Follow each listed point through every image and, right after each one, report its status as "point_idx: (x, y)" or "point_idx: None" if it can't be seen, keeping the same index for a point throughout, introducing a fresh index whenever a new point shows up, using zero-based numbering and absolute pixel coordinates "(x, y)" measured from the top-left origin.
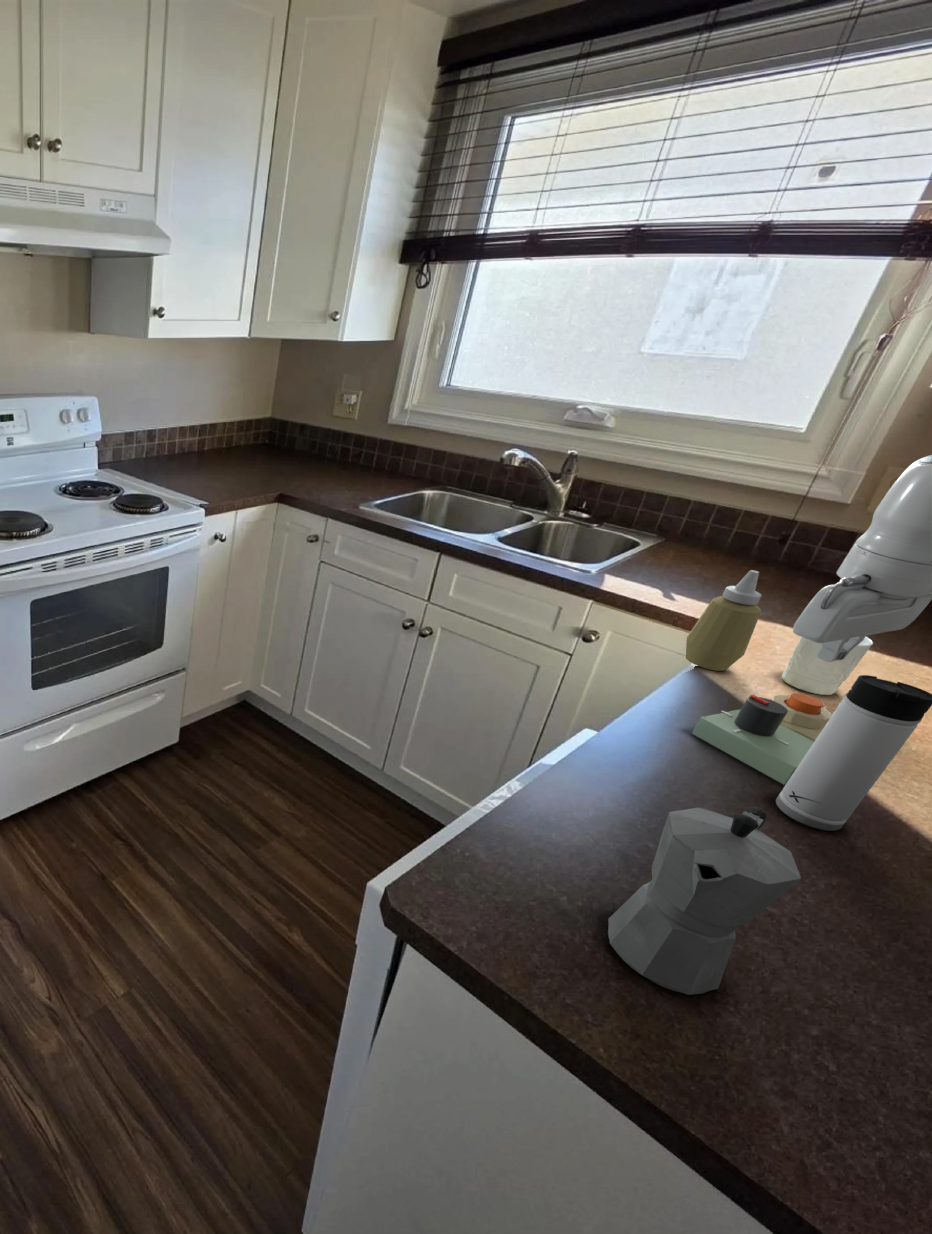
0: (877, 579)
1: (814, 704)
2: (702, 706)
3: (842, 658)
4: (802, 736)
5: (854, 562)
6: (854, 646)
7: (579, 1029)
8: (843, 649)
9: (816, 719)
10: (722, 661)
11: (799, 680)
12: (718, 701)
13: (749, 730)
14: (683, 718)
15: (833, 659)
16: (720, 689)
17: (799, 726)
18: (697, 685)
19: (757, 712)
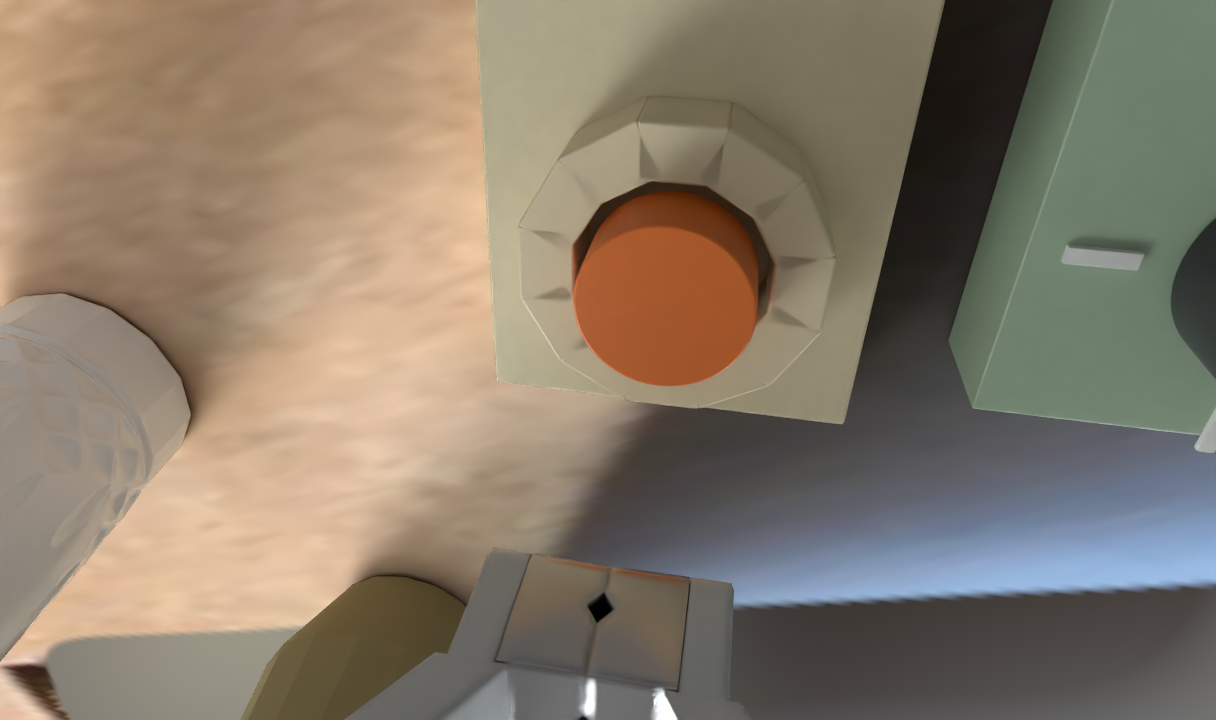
0: None
1: (701, 255)
2: (902, 484)
3: (533, 569)
4: (1107, 72)
5: None
6: (404, 702)
7: None
8: (515, 690)
9: (774, 154)
10: (434, 632)
11: (160, 417)
12: (751, 474)
13: None
14: (1177, 472)
15: (723, 607)
16: (600, 515)
17: (816, 171)
18: (676, 569)
19: None
